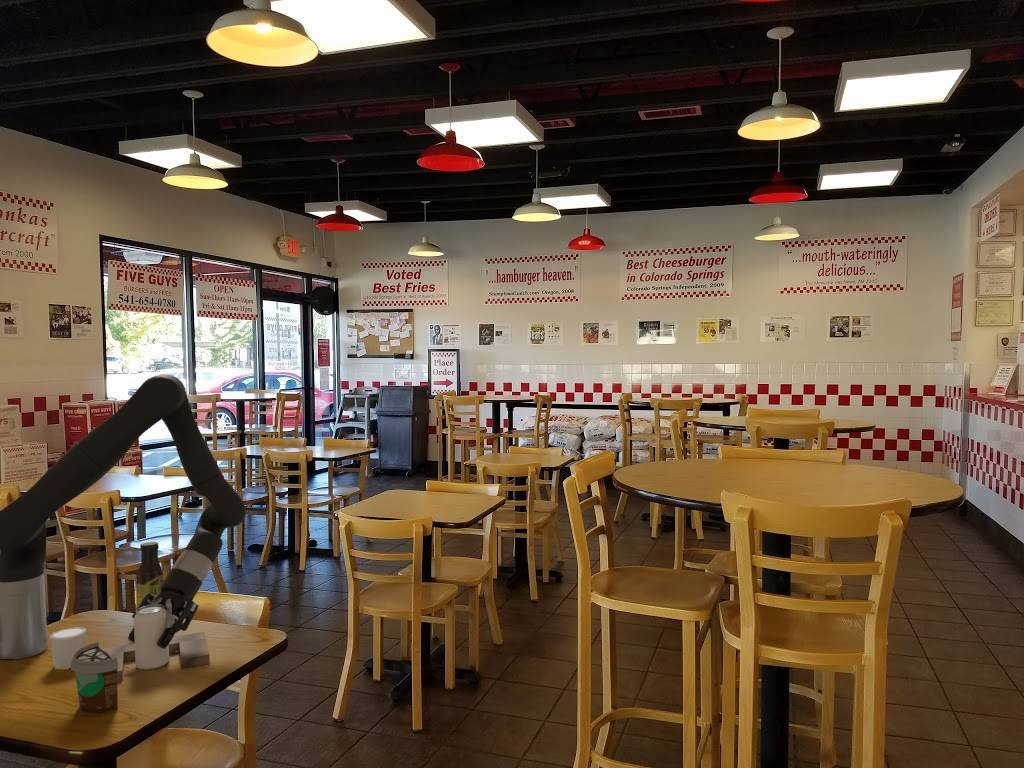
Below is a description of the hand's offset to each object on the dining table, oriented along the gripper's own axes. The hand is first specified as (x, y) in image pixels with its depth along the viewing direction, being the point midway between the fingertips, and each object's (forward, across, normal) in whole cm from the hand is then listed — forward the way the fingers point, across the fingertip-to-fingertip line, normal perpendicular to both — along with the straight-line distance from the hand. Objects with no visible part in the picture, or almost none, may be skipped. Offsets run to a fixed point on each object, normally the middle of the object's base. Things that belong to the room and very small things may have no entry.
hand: (146, 644), depth 158 cm
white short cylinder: (+7, -17, 0) cm, 19 cm away
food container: (+15, +5, -8) cm, 18 cm away
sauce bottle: (-10, -21, +17) cm, 29 cm away
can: (+3, 0, +5) cm, 5 cm away
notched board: (+2, -2, +5) cm, 6 cm away
